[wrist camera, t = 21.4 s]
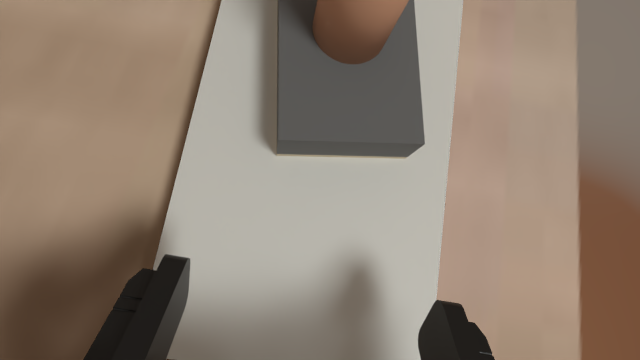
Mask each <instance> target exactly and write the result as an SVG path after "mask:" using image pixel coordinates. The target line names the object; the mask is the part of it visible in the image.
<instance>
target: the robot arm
mask: <svg viewBox="0 0 640 360" xmlns="http://www.w3.org/2000/svg"><path fill="white" fill-rule="evenodd" d="M189 277H190V258H186V257H180V256H174V255H168V254H165V255H164V256H163V258H162V260H161V262H160V264H159V266H158V268H157V270H150V269H144V268H143V269H142V270H141V271H139V272H138V273H137V274H136V275H134V276H133V277H132V278H131V279H130V280H129V281H128V282H127V284H126V286H125V288H124V289H123V291H122V293H121V295H120V298H118V300H117V302H116V304H115V305H114V307H113V310H112V311H111V312H110V314H109V316H108V318H107V319H106V321H105V323H104V325H103V326H102V328H101V330H100V332H99V333H98V335H97V337H96V339H95V340H94V342H93V344H92V346H91V348H90V349H89V351H88V353H87V355H86V356H85V358H84V359H83V360H166V358H167V355H168V352H169V350H170V347H171V344H172V342H173V339H174V336H175V334H176V331H177V328H178V326H179V323H180V320H181V318H182V315H183V312H184V310H185V306H186V303H187V298H188V292H189ZM418 349H419V353H420V358H421V360H495V359H494V357H493V356H492V352H491V349H490V346H489V344H488V341H487V339H486V337H485V336H484V334H483V333H482V332H481V330H480V329H479V328H478V327H477V325H476V324H475V323H473V322H468V319H467V317H466V314H465V311H464V309H463V307H462V305H461V304H458V303H452V302H446V301H440V300H437V301H435V302H434V304H433V306H432V308H431V309H430V311H429V313H428V315H427V317H426V319H425V320H424V322H423V324H422V326H421V328H420V330H419V334H418Z"/></svg>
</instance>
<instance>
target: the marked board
mask: <svg viewBox="0 0 640 360" xmlns="http://www.w3.org/2000/svg"><path fill="white" fill-rule="evenodd" d="M414 5H415V18H416V32H417V45H418V58H419V72H420V85H421V98H422V111H423V125H424V138H425V144H424V145H423V146H422V147H420V148H419V149H418V150H416V151H415V152H414V153H412V154H411V155H410V156H408V157H407V158H406V159H394V158H350V157H305V156H276V124H277V0H222V1H221V5H220V9H219V13H218V16H217V20H216V24H215V28H214V32H213V36H212V40H211V44H210V48H209V52H208V55H207V59H206V63H205V67H204V71H203V75H202V79H201V83H200V87H199V91H198V95H197V98H196V102H195V106H194V110H193V114H192V118H191V122H190V126H189V130H188V134H187V137H186V141H185V145H184V149H183V153H182V157H181V161H180V165H179V169H178V173H177V177H176V180H175V184H174V188H173V192H172V196H171V200H170V204H169V208H168V212H167V216H166V220H165V223H164V227H163V231H162V235H161V239H160V243H159V247H158V251H157V255H156V259H155V262H154V266H153V270H157V268H158V266H159V264H160V262H161V260H162V258H163V256H164V255H165V254H168V255H174V256H180V257H186V258H190V277H189V292H188V298H187V303H186V306H185V310H184V312H183V315H182V318H181V320H180V323H179V326H178V328H177V331H176V334H175V336H174V339H173V342H172V344H171V347H170V350H169V352H168V355H167V358H166V359H173V360H421V358H420V353H419V349H418V334H419V330H420V328H421V326H422V324H423V322H424V320H425V319H426V317H427V315H428V313H429V311H430V309H431V308H432V306H433V304H434V302H435V301H436V297H437V286H438V275H439V264H440V253H441V241H442V230H443V219H444V208H445V197H446V186H447V175H448V164H449V153H450V142H451V131H452V120H453V109H454V98H455V86H456V75H457V64H458V53H459V42H460V31H461V20H462V9H463V0H414Z"/></svg>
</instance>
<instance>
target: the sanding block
mask: <svg viewBox="0 0 640 360" xmlns="http://www.w3.org/2000/svg"><path fill="white" fill-rule="evenodd" d="M424 144H425V138H424V125H423V111H422V98H421V85H420V72H419V58H418V45H417V32H416V18H415V5H414V0H277V124H276V156H305V157H350V158H394V159H406V158H407V157H408V156H410V155H411V154H412V153H414V152H415V151H416V150H418V149H419V148H420V147H422V146H423V145H424Z"/></svg>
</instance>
